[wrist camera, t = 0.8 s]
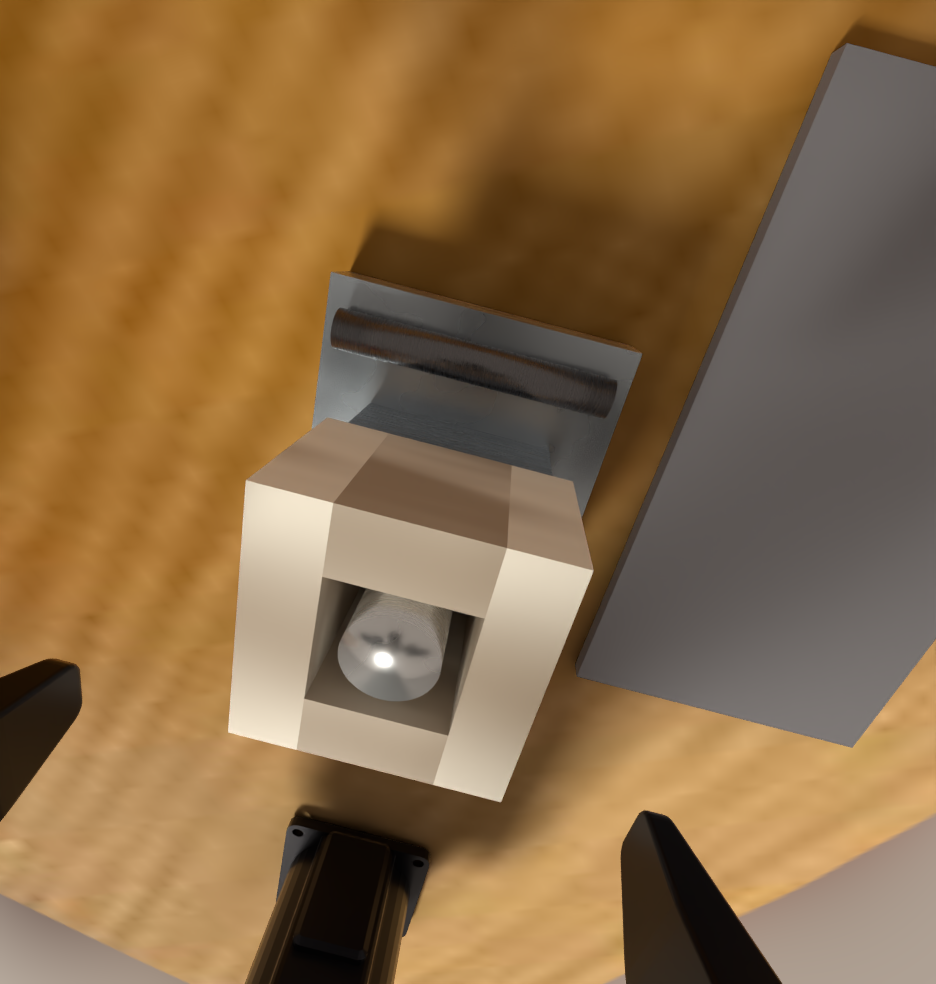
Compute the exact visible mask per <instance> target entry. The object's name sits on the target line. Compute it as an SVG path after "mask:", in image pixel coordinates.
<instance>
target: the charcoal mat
mask: <svg viewBox="0 0 936 984" xmlns="http://www.w3.org/2000/svg"><path fill="white" fill-rule="evenodd" d="M935 639H936V67H935V66H931V65H927V64H923V63H920V62H916V61H912V60H909V59H905V58H901V57H897V56H894V55H890V54H886V53H882V52H879V51H875V50H871V49H868V48H864V47H860V46H856V45H853V44H849V43H846V44H845V45H843V46H842V47H841V48H839V49H838V50H836V51H835V52H833V53H832V54H831V57H830V59H829V61H828V64H827V66H826V68H825V71H824V73H823V76H822V78H821V80H820V83H819V85H818V88H817V90H816V92H815V95H814V97H813V99H812V102H811V104H810V107H809V109H808V111H807V114H806V116H805V118H804V121H803V123H802V126H801V128H800V130H799V133H798V135H797V138H796V140H795V142H794V145H793V147H792V149H791V152H790V154H789V157H788V159H787V161H786V164H785V166H784V169H783V171H782V173H781V176H780V178H779V180H778V183H777V185H776V188H775V190H774V192H773V195H772V197H771V199H770V202H769V204H768V207H767V209H766V211H765V214H764V216H763V219H762V221H761V223H760V226H759V228H758V230H757V233H756V235H755V238H754V240H753V242H752V245H751V247H750V249H749V252H748V254H747V257H746V259H745V261H744V264H743V266H742V269H741V271H740V273H739V276H738V278H737V280H736V283H735V285H734V288H733V290H732V292H731V295H730V297H729V299H728V302H727V304H726V307H725V309H724V311H723V314H722V316H721V319H720V321H719V323H718V326H717V328H716V330H715V333H714V335H713V338H712V340H711V342H710V345H709V347H708V350H707V352H706V354H705V357H704V359H703V361H702V364H701V366H700V369H699V371H698V373H697V376H696V378H695V380H694V383H693V385H692V388H691V390H690V392H689V395H688V397H687V400H686V402H685V404H684V407H683V409H682V411H681V414H680V416H679V419H678V421H677V423H676V426H675V428H674V430H673V433H672V435H671V438H670V440H669V442H668V445H667V447H666V450H665V452H664V454H663V457H662V459H661V461H660V464H659V466H658V469H657V471H656V473H655V476H654V478H653V481H652V483H651V485H650V488H649V490H648V492H647V495H646V497H645V500H644V502H643V504H642V507H641V509H640V511H639V514H638V516H637V519H636V521H635V523H634V526H633V528H632V531H631V533H630V535H629V538H628V540H627V542H626V545H625V547H624V550H623V552H622V554H621V557H620V559H619V561H618V564H617V566H616V569H615V571H614V573H613V576H612V578H611V581H610V583H609V585H608V588H607V590H606V592H605V595H604V597H603V600H602V602H601V604H600V607H599V609H598V611H597V614H596V616H595V619H594V621H593V623H592V626H591V628H590V631H589V633H588V635H587V638H586V640H585V642H584V645H583V647H582V650H581V652H580V654H579V657H578V659H577V662H576V664H575V667H576V674H577V677H581V678H585V679H588V680H592V681H596V682H600V683H604V684H608V685H612V686H616V687H619V688H623V689H627V690H631V691H635V692H639V693H643V694H647V695H650V696H654V697H658V698H662V699H666V700H670V701H674V702H677V703H681V704H685V705H689V706H693V707H697V708H701V709H705V710H708V711H712V712H716V713H720V714H724V715H728V716H732V717H736V718H739V719H743V720H747V721H751V722H755V723H759V724H763V725H766V726H770V727H774V728H778V729H782V730H786V731H790V732H794V733H797V734H801V735H805V736H809V737H813V738H817V739H821V740H825V741H828V742H832V743H836V744H840V745H844V746H848V747H853V746H854V745H855V744H856V742H857V741H858V740H859V738H860V737H861V736H862V734H863V733H864V732H865V731H866V729H867V728H868V727H869V725H870V724H871V723H872V721H873V720H874V719H875V717H876V716H877V715H878V714H879V712H880V711H881V710H882V708H883V707H884V706H885V704H886V703H887V702H888V701H889V699H890V698H891V697H892V695H893V694H894V693H895V691H896V690H897V689H898V688H899V686H900V685H901V684H902V682H903V681H904V680H905V678H906V677H907V676H908V675H909V673H910V672H911V671H912V669H913V668H914V667H915V665H916V664H917V663H918V662H919V660H920V659H921V658H922V656H923V655H924V654H925V652H926V651H927V650H928V648H929V647H930V646H931V645H932V643H933V642H934V641H935Z"/></svg>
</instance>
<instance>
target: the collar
mask: <svg viewBox="0 0 936 984" xmlns="http://www.w3.org/2000/svg"><path fill="white" fill-rule="evenodd" d="M593 571H594V570H593V565H592V561H591V557H590V553H589V548H588V544H587V540H586V535H585V531H584V527H583V522H582V518H581V514H580V510H579V505H578V501H577V497H576V492H575V488H574V484H573V481H570V480H566V479H562V478H558V477H554V476H550V475H547V474H543V473H539V472H535V471H531V470H527V469H524V468H520V467H516V466H512V465H508V464H504V463H501V462H497V461H493V460H489V459H485V458H482V457H478V456H474V455H470V454H466V453H462V452H459V451H455V450H451V449H447V448H443V447H439V446H436V445H432V444H428V443H424V442H420V441H416V440H413V439H409V438H405V437H401V436H397V435H393V434H390V433H386V432H382V431H378V430H374V429H370V428H367V427H363V426H359V425H355V424H351V423H347V422H344V421H340V420H336V419H332V418H328V417H327V418H326V419H325V420H323V421H322V422H321V423H319V424H318V425H317V426H316V427H314V428H313V429H312V430H310V431H309V432H308V433H306V434H305V435H304V436H303V437H301V438H300V439H299V440H297V441H296V442H295V443H294V444H292V445H291V446H290V447H288V448H287V449H286V450H284V451H283V452H282V453H281V454H279V455H278V456H277V457H275V458H274V459H273V460H271V461H270V462H269V463H268V464H266V465H265V466H264V467H262V468H261V469H260V470H259V471H257V472H256V473H255V474H253V475H252V476H251V477H249V478H248V479H247V480H246V486H245V500H244V514H243V528H242V543H241V557H240V571H239V585H238V599H237V614H236V628H235V642H234V656H233V670H232V685H231V699H230V713H229V727H228V732H229V733H233V734H237V735H240V736H244V737H248V738H252V739H256V740H260V741H264V742H268V743H272V744H276V745H279V746H283V747H287V748H291V749H295V750H299V751H303V752H307V753H311V754H315V755H318V756H322V757H326V758H330V759H334V760H338V761H342V762H346V763H350V764H354V765H357V766H361V767H365V768H369V769H373V770H377V771H381V772H385V773H389V774H393V775H396V776H400V777H404V778H408V779H412V780H416V781H420V782H424V783H428V784H432V785H435V786H439V787H443V788H447V789H451V790H455V791H459V792H463V793H467V794H471V795H474V796H478V797H482V798H486V799H490V800H494V801H498V802H501V801H502V799H503V796H504V794H505V791H506V789H507V786H508V784H509V781H510V779H511V776H512V774H513V771H514V769H515V766H516V764H517V761H518V759H519V756H520V754H521V751H522V749H523V746H524V744H525V741H526V739H527V736H528V734H529V731H530V729H531V726H532V724H533V721H534V719H535V716H536V714H537V711H538V709H539V706H540V704H541V701H542V699H543V696H544V694H545V691H546V689H547V686H548V684H549V681H550V679H551V676H552V674H553V671H554V669H555V666H556V664H557V661H558V659H559V656H560V654H561V651H562V649H563V646H564V644H565V641H566V639H567V636H568V634H569V631H570V629H571V626H572V624H573V621H574V619H575V616H576V614H577V611H578V609H579V606H580V604H581V601H582V599H583V596H584V594H585V591H586V589H587V586H588V584H589V581H590V579H591V576H592V574H593ZM360 587H364V588H368V589H372V590H376V591H380V592H384V593H387V594H391V595H395V596H399V597H403V598H407V599H411V600H414V601H418V602H422V603H426V604H430V605H434V606H438V607H441V608H445V609H449V610H453V611H457V612H461V613H465V614H468V615H464V614H460V613H456V612H453V613H452V618H451V623H450V628H449V633H448V638H447V643H446V648H445V653H444V658H443V662H442V667H441V672H440V676H439V679H438V680H437V682H436V684H435V685H434V686H433V688H432V689H430V690H429V691H428V692H427V693H425V694H424V695H422V696H420V697H418V698H415V699H412V700H407V701H386V700H381V699H378V698H375V697H372V696H370V695H367V694H366V693H364V692H362V691H361V690H359V689H358V688H356V687H355V686H354V685H353V684H352V683H351V682H350V681H349V680H348V679H347V678H346V676H345V675H344V673H343V671H342V670H341V667H340V665H339V661H338V647H339V643H340V641H341V638H342V636H343V634H344V632H345V630H346V628H347V626H348V624H349V622H350V620H351V618H352V616H353V614H354V612H355V610H356V608H357V606H358V604H359V602H360V599H361V597H362V595H363V593H364V591H365V589H363V588H360Z"/></svg>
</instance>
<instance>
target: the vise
mask: <svg viewBox="0 0 936 984" xmlns="http://www.w3.org/2000/svg"><path fill="white" fill-rule="evenodd" d="M641 357H642V353H641V352H639V351H638V350H637V349H635V348H634V347H632V346H631V345H627V344H623V343H619V342H616V341H612V340H608V339H604V338H600V337H597V336H593V335H589V334H585V333H582V332H578V331H574V330H570V329H566V328H563V327H559V326H555V325H551V324H547V323H544V322H540V321H536V320H532V319H528V318H525V317H521V316H517V315H513V314H509V313H506V312H502V311H498V310H494V309H490V308H487V307H483V306H479V305H475V304H471V303H468V302H464V301H460V300H456V299H452V298H449V297H445V296H441V295H437V294H433V293H430V292H426V291H422V290H418V289H414V288H411V287H407V286H403V285H399V284H395V283H392V282H388V281H384V280H380V279H376V278H373V277H369V276H365V275H361V274H357V273H354V272H350V271H345V272H331V276H330V284H329V293H328V301H327V309H326V317H325V326H324V334H323V342H322V350H321V358H320V367H319V375H318V383H317V391H316V399H315V408H314V416H313V424H312V429H313V428H314V427H316V426H317V425H318V424H319V423H321V422H322V421H323V420H325V419H326V418H327V417H328V418H332V419H336V420H340V421H344V422H347V423H351V424H355V425H359V426H363V427H367V428H370V429H374V430H378V431H382V432H386V433H390V434H393V435H397V436H401V437H405V438H409V439H413V440H416V441H420V442H424V443H428V444H432V445H436V446H439V447H443V448H447V449H451V450H455V451H459V452H462V453H466V454H470V455H474V456H478V457H482V458H485V459H489V460H493V461H497V462H501V463H504V464H508V465H512V466H516V467H520V468H524V469H527V470H531V471H535V472H539V473H543V474H547V475H550V476H554V477H558V478H562V479H566V480H570V481H573V484H574V488H575V492H576V497H577V501H578V505H579V510H580V514H581V518H582V516H583V513H584V511H585V508H586V505H587V502H588V500H589V497H590V494H591V492H592V489H593V486H594V484H595V481H596V478H597V475H598V473H599V470H600V467H601V465H602V462H603V459H604V457H605V454H606V451H607V449H608V446H609V443H610V440H611V438H612V435H613V432H614V430H615V427H616V424H617V422H618V419H619V416H620V413H621V411H622V408H623V405H624V403H625V400H626V397H627V395H628V392H629V389H630V387H631V384H632V381H633V378H634V376H635V373H636V370H637V368H638V365H639V362H640V360H641ZM360 588H363V589H365V591H364V593H363V595H362V597H361V599H360V602H359V604H358V606H357V608H356V610H355V612H354V614H353V616H352V618H351V620H350V622H349V624H348V626H347V628H346V630H345V632H344V634H343V636H342V638H341V641H340V643H339V647H338V661H339V665H340V667H341V670H342V671H343V673H344V675H345V676H346V678H347V679H348V680H349V681H350V682H351V683H352V684H353V685H354V686H355V687H356V688H358V689H359V690H361V691H362V692H364V693H366V694H367V695H370V696H372V697H375V698H378V699H381V700H386V701H407V700H412V699H415V698H418V697H420V696H422V695H424V694H425V693H427V692H428V691H429V690H430V689H432V688H433V686H434V685H435V684H436V682H437V680H438V679H439V676H440V672H441V667H442V662H443V658H444V653H445V648H446V643H447V638H448V633H449V628H450V623H451V618H452V613H453V612H456V613H460V614H464V615H468V614H465V613H461V612H457V611H453V610H449V609H445V608H441V607H438V606H434V605H430V604H426V603H422V602H418V601H414V600H411V599H407V598H403V597H399V596H395V595H391V594H387V593H384V592H380V591H376V590H372V589H368V588H364V587H360Z"/></svg>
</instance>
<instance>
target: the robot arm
mask: <svg viewBox="0 0 936 984" xmlns="http://www.w3.org/2000/svg"><path fill="white" fill-rule="evenodd" d="M81 706H82V691H81V678H80V669H79V667H78V666H77V665H76V664H74V663H70V662H66V661H62V660H58V659H46V660H43V661H40V662H38V663H35V664H33V665H30V666H28V667H25V668H23V669H20V670H18V671H16V672H13V673H11V674H8V675H6V676H3V677H1V678H0V821H1V820H2V819H3V818H4V816H5V815H6V814H7V812H8V811H9V810H10V809H11V807H12V806H13V805H14V803H15V802H16V801H17V799H18V798H19V797H20V795H21V794H22V792H23V791H24V790H25V788H26V787H27V786H28V784H29V783H30V781H31V780H32V779H33V777H34V776H35V774H36V773H37V772H38V770H39V769H40V768H41V766H42V765H43V763H44V762H45V761H46V759H47V758H48V757H49V755H50V754H51V752H52V751H53V750H54V748H55V747H56V745H57V744H58V743H59V741H60V740H61V739H62V737H63V736H64V734H65V733H66V732H67V730H68V729H69V728H70V726H71V725H72V723H73V722H74V721H75V719H76V718H77V716H78V714H79V712H80V709H81ZM430 858H431V854H430V852H429V851H428V850H426V849H424V848H422V847H418V846H414V845H410V844H406V843H402V842H398V841H394V840H390V839H386V838H382V837H379V836H375V835H371V834H367V833H363V832H359V831H355V830H351V829H347V828H343V827H339V826H336V825H332V824H328V823H324V822H320V821H316V820H312V819H308V818H304V817H294V818H292V819H291V821H290V824H289V826H288V828H287V832H286V839H285V845H284V852H283V859H282V865H281V872H280V878H279V885H278V892H277V898H276V905H275V907H274V910H273V912H272V915H271V917H270V920H269V923H268V925H267V928H266V930H265V933H264V935H263V938H262V941H261V943H260V946H259V948H258V951H257V953H256V956H255V959H254V961H253V964H252V966H251V969H250V972H249V974H248V977H247V979H246V982H245V984H394V979H395V973H396V967H397V962H398V956H399V951H400V945H401V940H402V937H404V936H405V935H406V933H407V930H408V927H409V924H410V921H411V918H412V915H413V912H414V909H415V906H416V903H417V901H418V898H419V895H420V892H421V889H422V886H423V883H424V880H425V877H426V874H427V871H428V868H429V864H430ZM621 881H622V909H623V936H624V960H625V977H626V984H782V982H781V981H780V980H779V978H778V976H777V975H776V974H775V972H774V970H773V969H772V968H771V966H770V965H769V963H768V962H767V960H766V959H765V957H764V956H763V954H762V953H761V951H760V950H759V948H758V947H757V945H756V944H755V943H754V941H753V939H752V938H751V937H750V935H749V933H748V932H747V931H746V929H745V928H744V926H743V925H742V923H741V922H740V920H739V919H738V917H737V916H736V914H735V913H734V911H733V910H732V908H731V907H730V905H729V904H728V902H727V901H726V899H725V898H724V897H723V895H722V894H721V892H720V891H719V889H718V888H717V886H716V885H715V883H714V882H713V880H712V879H711V877H710V876H709V874H708V873H707V871H706V870H705V868H704V867H703V865H702V864H701V863H700V861H699V860H698V858H697V857H696V855H695V854H694V852H693V851H692V849H691V848H690V846H689V845H688V843H687V842H686V840H685V839H684V837H683V836H682V834H681V833H680V832H679V830H678V829H677V827H676V826H675V824H674V823H673V821H672V820H671V819H670V818H669V817H667V816H665V815H662V814H658V813H654V812H650V811H645V810H644V811H642V812H640V813H639V815H638V816H637V818H636V820H635V822H634V823H633V825H632V827H631V829H630V830H629V832H628V834H627V836H626V837H625V839H624V841H623V844H622V849H621Z"/></svg>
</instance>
